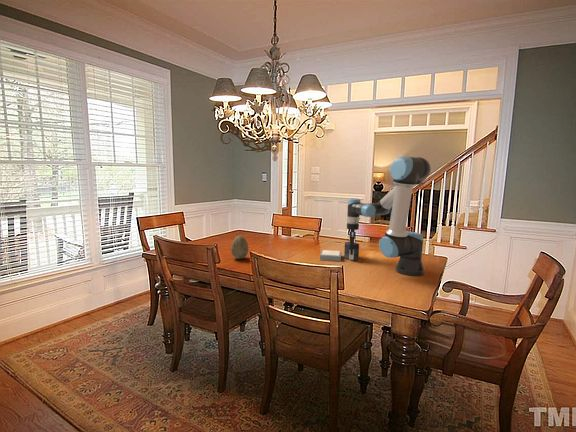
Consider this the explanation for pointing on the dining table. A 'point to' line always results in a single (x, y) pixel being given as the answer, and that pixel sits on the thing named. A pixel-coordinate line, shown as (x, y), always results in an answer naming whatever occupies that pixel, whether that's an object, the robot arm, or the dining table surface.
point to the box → (356, 251)
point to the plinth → (330, 255)
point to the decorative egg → (239, 247)
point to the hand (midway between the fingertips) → (351, 257)
